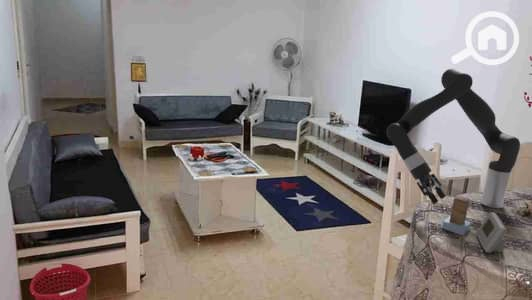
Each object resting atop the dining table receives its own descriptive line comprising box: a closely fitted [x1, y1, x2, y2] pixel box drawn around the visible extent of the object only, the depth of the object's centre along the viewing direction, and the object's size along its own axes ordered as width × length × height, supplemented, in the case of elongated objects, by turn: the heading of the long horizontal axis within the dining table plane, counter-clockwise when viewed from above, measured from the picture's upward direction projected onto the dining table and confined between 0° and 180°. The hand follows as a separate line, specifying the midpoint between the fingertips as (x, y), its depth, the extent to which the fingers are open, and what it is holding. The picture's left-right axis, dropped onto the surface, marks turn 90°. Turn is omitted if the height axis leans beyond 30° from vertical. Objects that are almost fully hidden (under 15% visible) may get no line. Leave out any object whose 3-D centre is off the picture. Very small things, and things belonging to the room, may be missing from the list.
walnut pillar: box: [449, 195, 471, 225], centre depth 169 cm, size 4×4×10 cm
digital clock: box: [475, 211, 507, 254], centre depth 158 cm, size 16×9×11 cm, turn 154°
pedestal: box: [441, 216, 472, 236], centre depth 171 cm, size 8×8×3 cm
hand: (439, 200), depth 173 cm, fingers open, 8 cm apart
